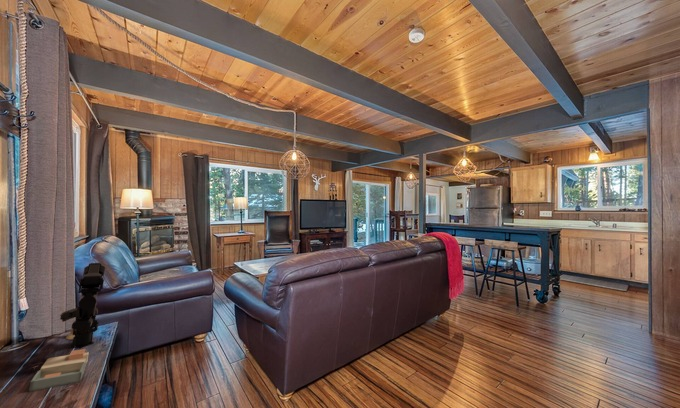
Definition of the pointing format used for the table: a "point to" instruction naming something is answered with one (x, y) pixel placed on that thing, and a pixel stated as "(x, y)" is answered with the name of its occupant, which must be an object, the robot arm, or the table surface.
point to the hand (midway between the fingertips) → (82, 336)
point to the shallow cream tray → (62, 365)
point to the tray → (55, 380)
